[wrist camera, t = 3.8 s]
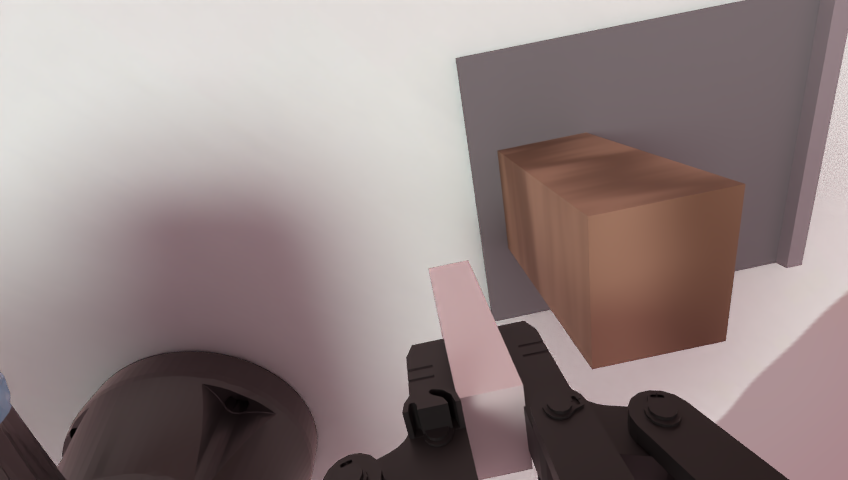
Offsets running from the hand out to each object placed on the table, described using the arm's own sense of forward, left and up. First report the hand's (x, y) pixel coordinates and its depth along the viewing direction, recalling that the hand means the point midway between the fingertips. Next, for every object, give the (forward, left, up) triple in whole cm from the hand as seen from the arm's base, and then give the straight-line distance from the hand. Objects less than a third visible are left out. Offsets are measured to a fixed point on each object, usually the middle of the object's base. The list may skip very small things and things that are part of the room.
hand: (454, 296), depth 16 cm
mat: (+13, 0, -9) cm, 16 cm away
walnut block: (+7, 0, -9) cm, 11 cm away
